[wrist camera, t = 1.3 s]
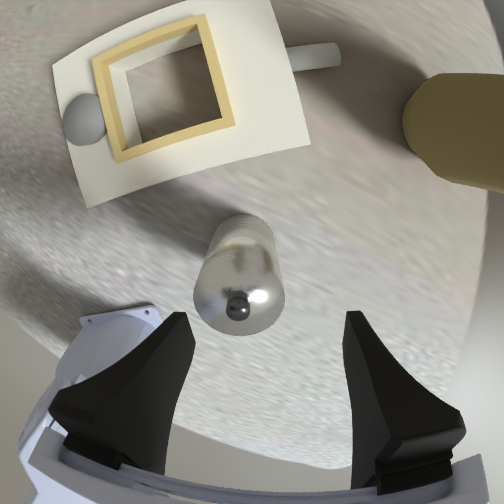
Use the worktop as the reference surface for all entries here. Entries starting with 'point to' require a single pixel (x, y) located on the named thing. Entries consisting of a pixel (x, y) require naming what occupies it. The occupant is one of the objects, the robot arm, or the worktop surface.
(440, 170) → the squeeze bottle
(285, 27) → the worktop surface
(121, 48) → the white holder tray
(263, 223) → the spout can
